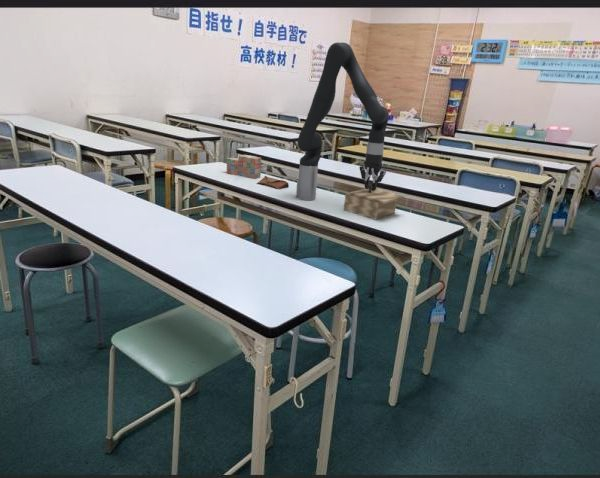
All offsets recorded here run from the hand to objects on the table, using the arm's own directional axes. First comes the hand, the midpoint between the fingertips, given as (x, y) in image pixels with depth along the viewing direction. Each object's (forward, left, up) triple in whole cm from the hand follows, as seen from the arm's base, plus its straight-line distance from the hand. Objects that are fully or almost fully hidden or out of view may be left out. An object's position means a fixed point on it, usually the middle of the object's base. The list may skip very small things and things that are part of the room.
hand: (370, 189), depth 204 cm
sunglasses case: (-63, -3, -11) cm, 64 cm away
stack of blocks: (-91, -1, -11) cm, 92 cm away
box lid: (+4, 0, -3) cm, 5 cm away
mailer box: (+1, 0, -11) cm, 11 cm away
